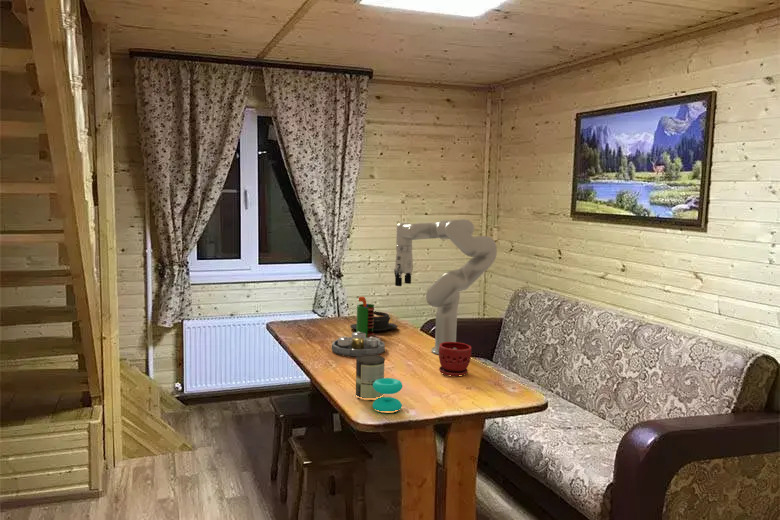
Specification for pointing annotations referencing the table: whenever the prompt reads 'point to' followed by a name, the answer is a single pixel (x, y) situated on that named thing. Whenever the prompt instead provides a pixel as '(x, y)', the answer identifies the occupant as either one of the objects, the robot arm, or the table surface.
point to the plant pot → (454, 358)
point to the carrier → (355, 346)
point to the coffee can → (368, 375)
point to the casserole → (380, 322)
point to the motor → (365, 318)
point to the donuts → (387, 388)
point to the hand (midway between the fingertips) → (403, 284)
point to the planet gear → (371, 343)
